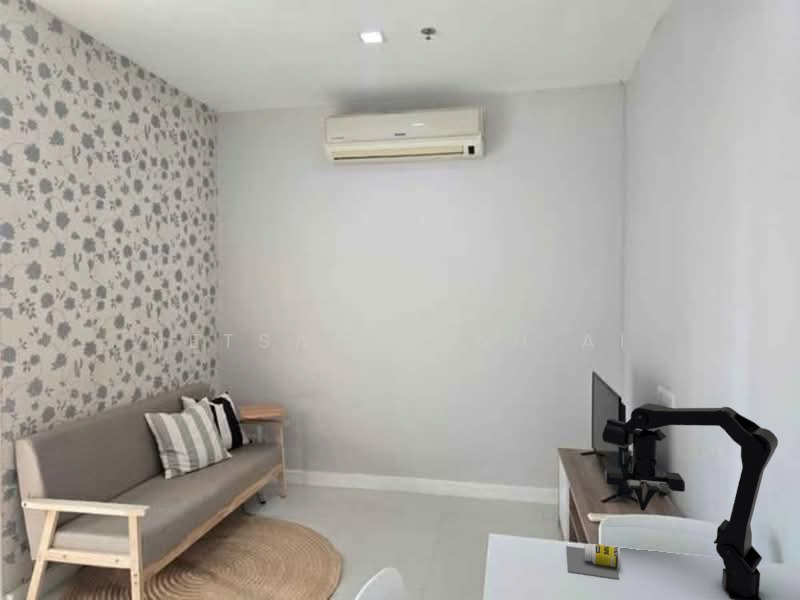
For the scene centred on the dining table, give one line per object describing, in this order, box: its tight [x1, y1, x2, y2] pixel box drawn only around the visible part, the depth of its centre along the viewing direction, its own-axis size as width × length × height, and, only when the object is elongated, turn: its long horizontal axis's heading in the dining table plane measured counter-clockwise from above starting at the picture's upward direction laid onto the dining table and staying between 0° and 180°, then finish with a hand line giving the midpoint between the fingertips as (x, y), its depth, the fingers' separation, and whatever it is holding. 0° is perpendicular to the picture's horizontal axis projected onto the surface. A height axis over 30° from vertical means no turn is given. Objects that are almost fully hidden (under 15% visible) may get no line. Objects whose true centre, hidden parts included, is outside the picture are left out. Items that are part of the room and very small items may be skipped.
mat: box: [565, 545, 620, 581], centre depth 139 cm, size 12×12×1 cm
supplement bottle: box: [584, 543, 621, 569], centre depth 138 cm, size 5×5×8 cm
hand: (642, 509), depth 142 cm, fingers closed
